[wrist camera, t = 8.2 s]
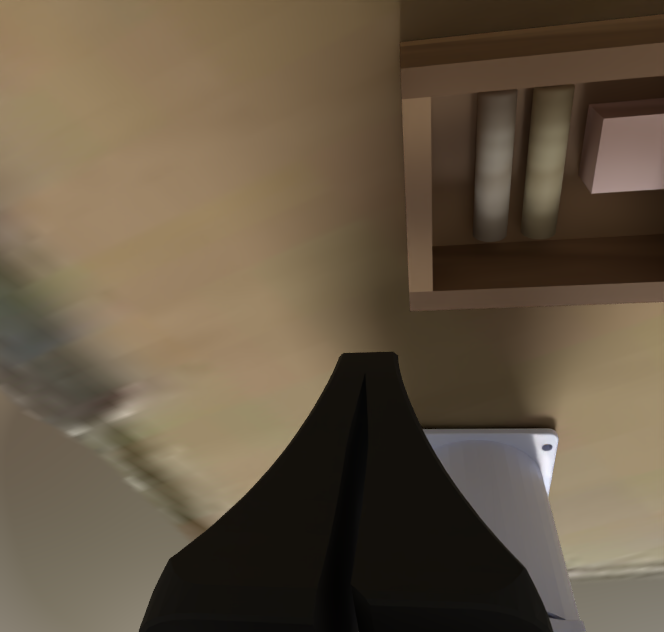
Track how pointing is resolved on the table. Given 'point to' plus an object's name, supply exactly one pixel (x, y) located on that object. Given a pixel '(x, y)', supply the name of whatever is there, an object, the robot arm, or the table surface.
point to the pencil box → (535, 166)
